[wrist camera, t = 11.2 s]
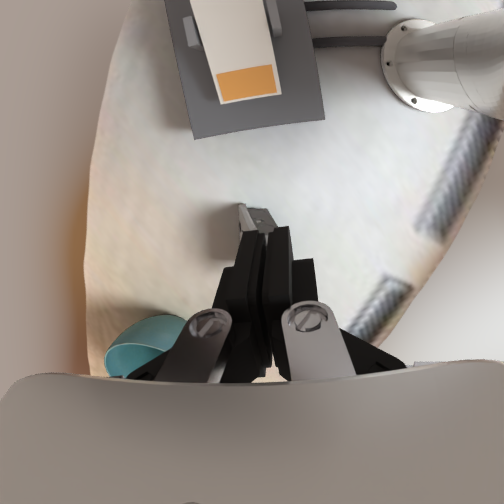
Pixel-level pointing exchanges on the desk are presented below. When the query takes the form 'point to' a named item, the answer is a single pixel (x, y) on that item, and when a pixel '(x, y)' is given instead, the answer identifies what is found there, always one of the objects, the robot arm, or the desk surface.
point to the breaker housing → (258, 109)
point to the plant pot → (142, 343)
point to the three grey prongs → (349, 2)
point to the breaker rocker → (237, 48)
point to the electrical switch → (255, 220)
